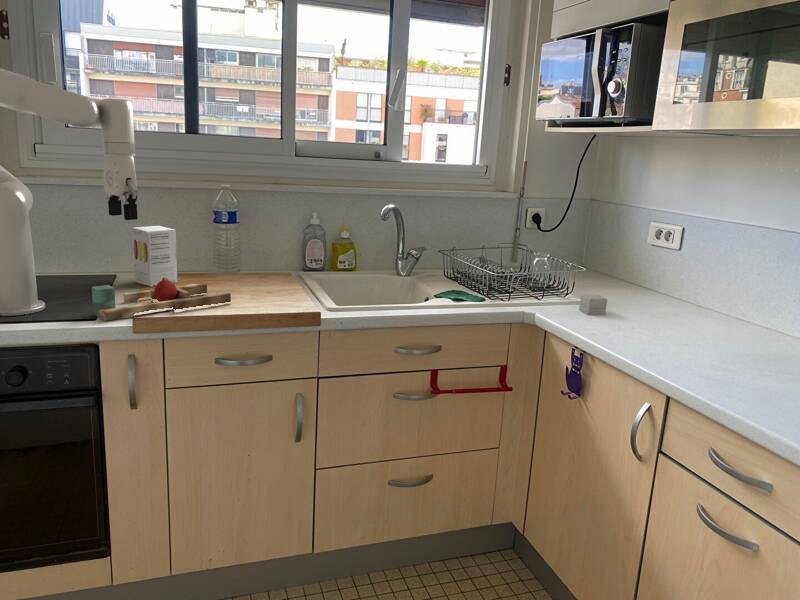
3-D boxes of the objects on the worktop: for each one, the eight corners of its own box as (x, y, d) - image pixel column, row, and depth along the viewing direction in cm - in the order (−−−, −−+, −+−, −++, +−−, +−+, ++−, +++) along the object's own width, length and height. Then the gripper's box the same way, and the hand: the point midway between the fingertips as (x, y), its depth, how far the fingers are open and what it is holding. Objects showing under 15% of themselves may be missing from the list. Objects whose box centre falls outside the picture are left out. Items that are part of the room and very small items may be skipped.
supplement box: (134, 281, 199) (131, 227, 195) (161, 277, 206) (159, 224, 202) (150, 287, 194) (147, 231, 189) (178, 283, 200) (176, 228, 196)
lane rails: (175, 313, 168) (175, 302, 168) (151, 301, 178) (151, 291, 177) (230, 304, 179) (230, 293, 179) (205, 293, 189) (204, 283, 188)
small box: (605, 315, 187) (608, 298, 186) (587, 315, 186) (589, 298, 184) (596, 310, 192) (598, 293, 191) (578, 310, 191) (580, 294, 190)
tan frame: (105, 321, 158) (103, 293, 157) (90, 312, 165) (88, 285, 163) (191, 307, 174) (190, 281, 172) (174, 299, 180) (173, 275, 179)
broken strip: (126, 303, 175) (125, 294, 175) (124, 302, 176) (123, 293, 176) (198, 292, 190) (198, 284, 189) (195, 291, 191) (195, 283, 190)
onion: (153, 304, 176) (151, 275, 174) (176, 302, 179) (174, 273, 177) (156, 309, 171) (154, 279, 169) (179, 307, 174) (177, 278, 172)
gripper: (90, 147, 168) (95, 214, 172) (117, 151, 156) (122, 222, 160) (120, 148, 173) (123, 212, 177) (148, 151, 161) (151, 220, 165)
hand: (123, 217), depth 169 cm, fingers open, 9 cm apart
